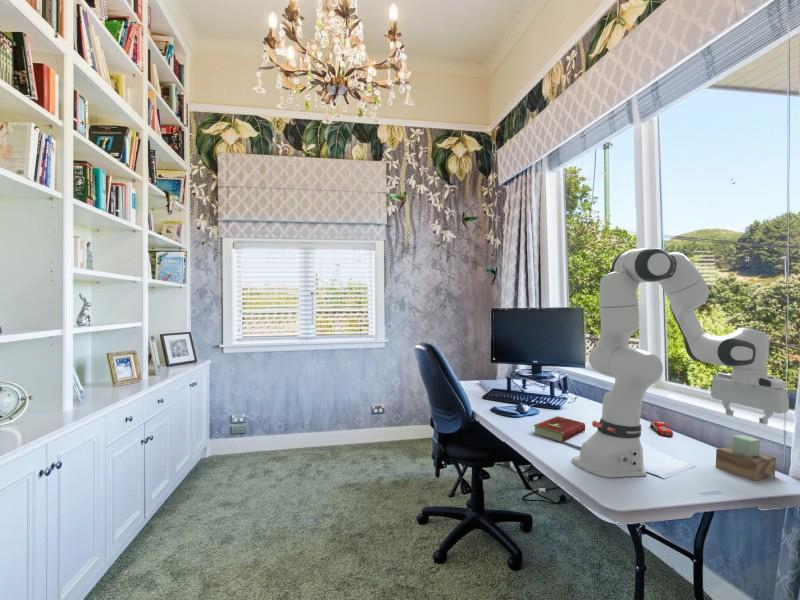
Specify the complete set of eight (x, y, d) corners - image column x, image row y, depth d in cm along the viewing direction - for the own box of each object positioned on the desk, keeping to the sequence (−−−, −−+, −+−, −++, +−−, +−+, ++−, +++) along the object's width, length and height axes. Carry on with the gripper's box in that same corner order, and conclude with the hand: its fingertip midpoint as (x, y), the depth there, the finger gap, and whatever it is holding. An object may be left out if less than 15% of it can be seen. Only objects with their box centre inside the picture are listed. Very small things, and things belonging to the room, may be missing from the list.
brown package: (754, 480, 125) (755, 461, 125) (715, 466, 135) (716, 448, 135) (774, 476, 129) (775, 457, 129) (735, 462, 140) (736, 445, 139)
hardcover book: (585, 432, 167) (585, 422, 167) (562, 443, 153) (563, 432, 153) (557, 425, 176) (557, 415, 176) (533, 434, 161) (533, 424, 161)
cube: (750, 456, 129) (750, 441, 129) (732, 451, 134) (732, 436, 134) (759, 455, 131) (759, 439, 131) (741, 449, 136) (742, 434, 136)
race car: (674, 438, 164) (675, 429, 164) (659, 437, 165) (660, 427, 165) (662, 428, 177) (663, 419, 177) (648, 427, 178) (649, 418, 178)
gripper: (708, 371, 141) (705, 410, 141) (782, 384, 122) (778, 430, 122) (719, 371, 143) (716, 410, 143) (793, 384, 124) (790, 428, 124)
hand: (745, 419), depth 132 cm, fingers open, 8 cm apart
